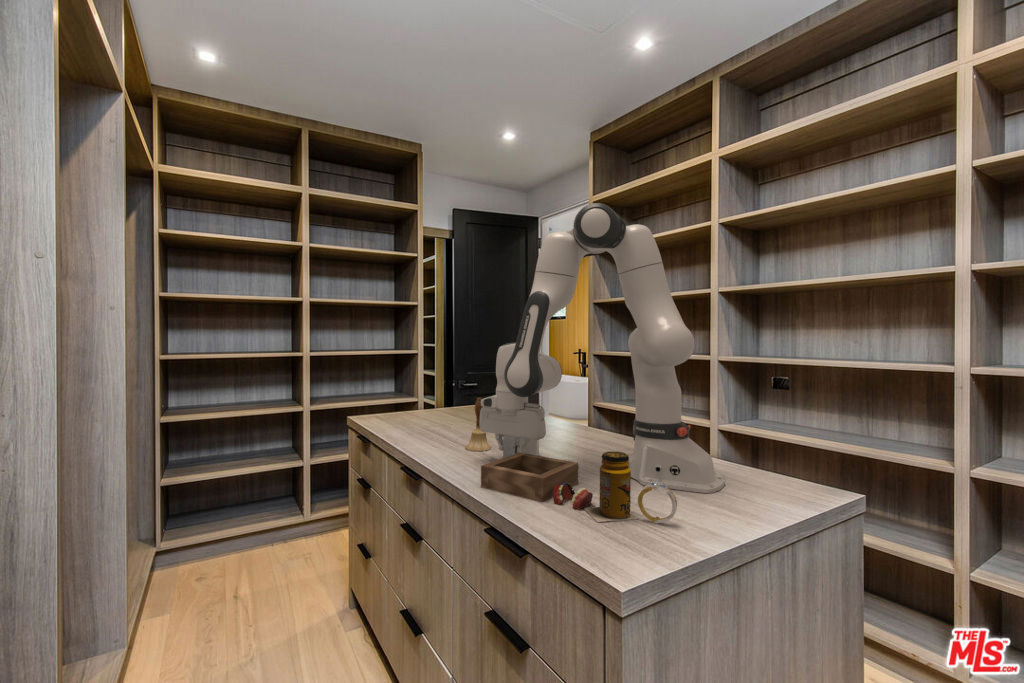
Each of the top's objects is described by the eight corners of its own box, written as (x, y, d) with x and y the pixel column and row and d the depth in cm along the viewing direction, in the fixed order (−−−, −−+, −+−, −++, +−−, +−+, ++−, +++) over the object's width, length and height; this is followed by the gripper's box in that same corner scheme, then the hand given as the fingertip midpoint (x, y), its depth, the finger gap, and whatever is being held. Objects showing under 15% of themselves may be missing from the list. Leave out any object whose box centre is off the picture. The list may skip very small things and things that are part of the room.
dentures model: (582, 491, 96) (550, 483, 101) (582, 512, 96) (549, 503, 101) (596, 485, 101) (564, 478, 106) (596, 506, 101) (564, 498, 106)
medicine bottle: (515, 453, 144) (515, 413, 144) (539, 454, 143) (539, 414, 143) (512, 459, 137) (512, 417, 137) (537, 460, 136) (537, 418, 136)
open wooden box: (578, 483, 115) (578, 462, 115) (542, 501, 102) (543, 478, 102) (519, 471, 125) (519, 452, 125) (480, 487, 112) (480, 465, 112)
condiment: (638, 519, 92) (639, 457, 92) (597, 523, 90) (598, 459, 90) (621, 506, 99) (622, 448, 99) (583, 509, 98) (583, 450, 97)
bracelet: (678, 524, 90) (678, 481, 90) (673, 530, 87) (673, 486, 87) (641, 516, 94) (642, 475, 94) (636, 521, 91) (636, 479, 91)
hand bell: (497, 448, 151) (497, 397, 151) (477, 452, 145) (477, 400, 145) (479, 444, 157) (479, 395, 157) (459, 448, 151) (460, 397, 151)
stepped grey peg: (523, 464, 132) (524, 431, 132) (511, 468, 127) (511, 435, 127) (512, 461, 135) (512, 429, 135) (499, 466, 130) (499, 433, 130)
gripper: (550, 403, 127) (550, 455, 128) (490, 397, 139) (489, 444, 139) (537, 405, 122) (537, 459, 122) (476, 399, 134) (476, 448, 134)
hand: (511, 451), depth 131 cm, fingers open, 5 cm apart
